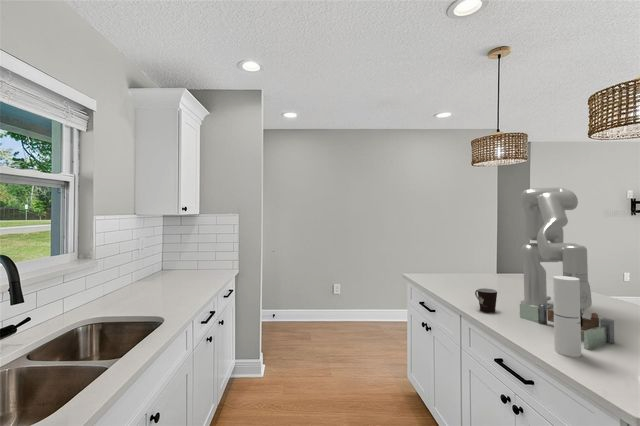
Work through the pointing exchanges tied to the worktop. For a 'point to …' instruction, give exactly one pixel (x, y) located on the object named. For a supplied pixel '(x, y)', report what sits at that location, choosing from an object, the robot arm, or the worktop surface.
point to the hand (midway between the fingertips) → (576, 325)
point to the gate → (586, 323)
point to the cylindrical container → (567, 315)
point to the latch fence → (599, 334)
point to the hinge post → (534, 313)
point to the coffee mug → (487, 299)
